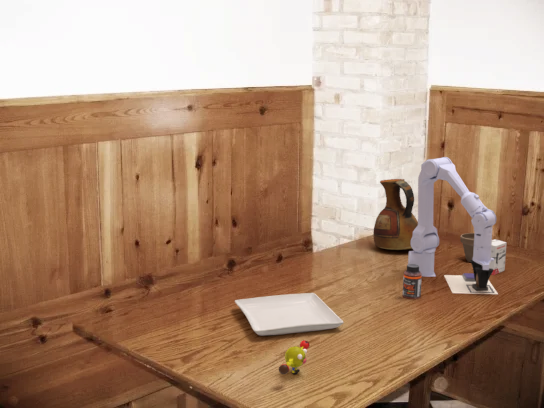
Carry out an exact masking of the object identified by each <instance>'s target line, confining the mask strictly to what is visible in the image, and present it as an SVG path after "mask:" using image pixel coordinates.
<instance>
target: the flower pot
mask: <svg viewBox="0 0 544 408" xmlns="http://www.w3.org/2000/svg"><path fill="white" fill-rule="evenodd" d="M459 237H460V243H462V249H463V251H464V256H465V259H466V261H467V262H470V260H472V258H473V250H474V232H468V233H467V232H466V233H462V234H461V235H460V236H459ZM470 263H471V262H470Z"/></svg>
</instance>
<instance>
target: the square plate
mask: <svg viewBox="0 0 544 408" xmlns="http://www.w3.org/2000/svg"><path fill="white" fill-rule="evenodd" d="M234 303H235V304H236V305H237V307H238V308H239V309H240V310H241V313H243V315H245V317H246V319H247V321H248V323H249V324H250V327H251V329H252V330H253V332H254V333H255V334H257V335H258V336H279V335H287V334H288V335H289V334H296V333H307V332H316V331H323V330H332V329H336V328H338V327H340V326H342V325H343V324H344V320H343V319H341V317H339V315H337V314H336V313H335V311H333V309H332V308H330V307H329V306H328V304H326V302H324V300H322V298H320V297H319V296H318V295H317V294H316V293H315V292H304V293H303V292H302V293H289V294H288V293H287V294H279V295H278V294H277V295H269V296H268V295H267V296H258V297H257V296H256V297H251V298H242V299H241V298H240V299H235V300H234Z"/></svg>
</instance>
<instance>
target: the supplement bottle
mask: <svg viewBox="0 0 544 408" xmlns="http://www.w3.org/2000/svg"><path fill="white" fill-rule="evenodd" d="M402 278H403V279H402V282H403V283H402V297H403V298H405V299H408V300H418V299H420V298H421V297H422V296H421V295H422V278H423V276H422V273H421V272H420V271H419V265H417V264H408V263H407V264H406V270H405V271H404V272H403V277H402Z"/></svg>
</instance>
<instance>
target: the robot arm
mask: <svg viewBox="0 0 544 408" xmlns="http://www.w3.org/2000/svg"><path fill="white" fill-rule="evenodd" d="M420 167H421V168H420V172H419V175H418V178H417V221H418V226H417V227H416V228H415V229H414V231H413V236H412V238H411V247H412V249H411V250H409V251H408V258H407V259H408V260H407V265H408V264H417V265H419V271H420V272H421V273H422V277H428V278H429V277H433V278H434V277H437V275H436V273H435V252H436V249H437V248H438V246H439V245H440V237H439V235H438V228H436V226H434V203H435V202H434V201H435V200H434V198H435V197H434V196H435V194H434V190H435V189H434V188H435V187H434V185H435V182H437V181H438V180H442V181H447V183H448V184H449V185H450V186H451V187H452V189H453V191H455V192H456V194H457V195H458V196H459V197H460V204H461V205H462V207H463V208H464V209H465V210H466V212H467V213H468V215H469V216H470V217H471V220H470V221H471V224H472V226H473V233H474V250H473V258H472V260H470V264H471V267H472V271H473V272H472V273H474V278H475V281H476V274H477V275H478V282H479V288H486V287H487V283H488V280H489V281H490V277H491V276H492V275H491V274H492V272H493V269H490V268H489V264H490V262H491V261H494V258H491V244H492V240H493V226H494V225H496V224H497V215H496V214H495V212H494V210H492V209H489V208H488V207H487V206H486V205H484V203H483V202H482V200H481V199H480V196H479V194H478V193H477V194H476V192H471V191H470V189H468V187H467V186H466V184H465V182H464V181H463V179H462V178H461V176H460V175H459V173H458V171H457V170H456V165H455V164H454V163H453V162H452V160H451V159H450V158H449V157H447V156H442V157H437V158H428V159H426V160H425V161H423V162H422V163H421V165H420Z"/></svg>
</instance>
